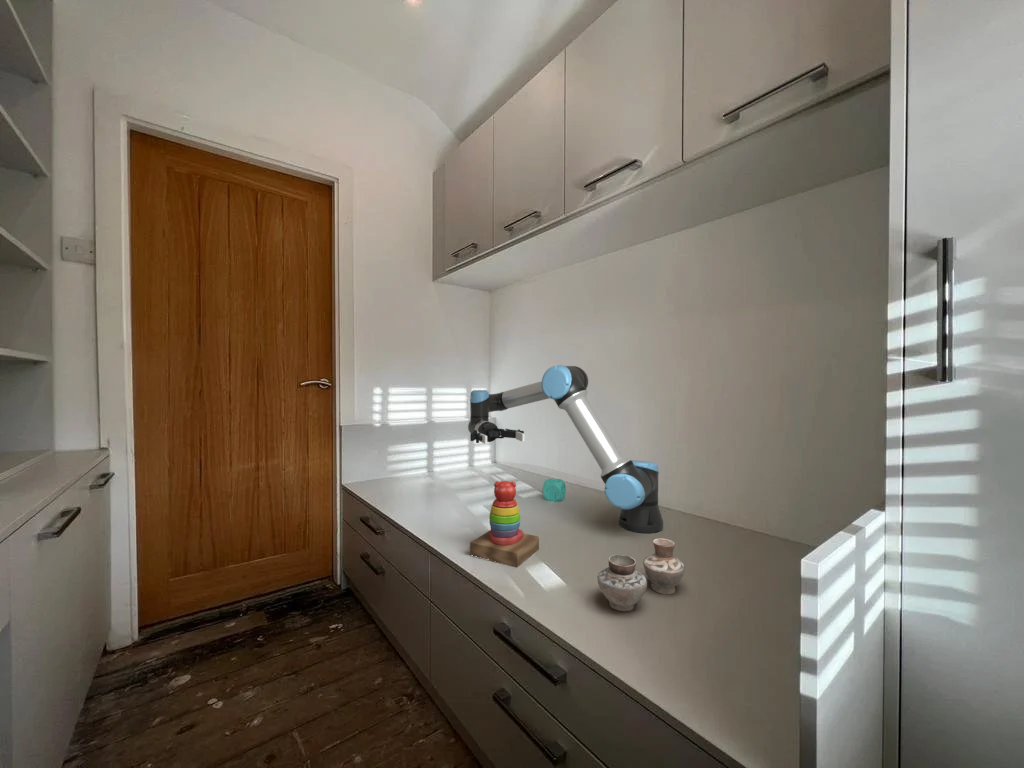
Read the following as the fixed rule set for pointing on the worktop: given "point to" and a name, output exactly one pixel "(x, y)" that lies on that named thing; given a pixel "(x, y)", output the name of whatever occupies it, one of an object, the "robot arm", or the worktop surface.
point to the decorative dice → (554, 490)
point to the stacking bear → (505, 515)
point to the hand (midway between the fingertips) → (505, 438)
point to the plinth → (505, 549)
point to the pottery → (640, 576)
